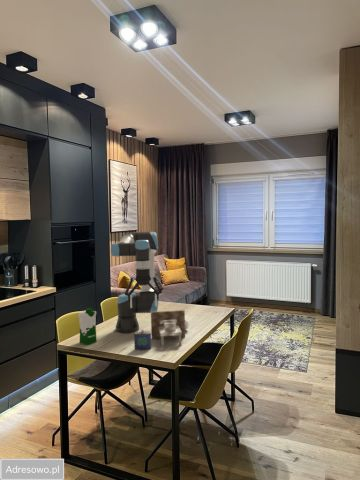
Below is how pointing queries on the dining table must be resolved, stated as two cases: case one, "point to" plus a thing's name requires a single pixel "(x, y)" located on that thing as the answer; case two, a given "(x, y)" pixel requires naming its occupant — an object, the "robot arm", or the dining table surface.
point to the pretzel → (186, 324)
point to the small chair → (168, 325)
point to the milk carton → (87, 326)
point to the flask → (142, 340)
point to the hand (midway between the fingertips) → (143, 306)
